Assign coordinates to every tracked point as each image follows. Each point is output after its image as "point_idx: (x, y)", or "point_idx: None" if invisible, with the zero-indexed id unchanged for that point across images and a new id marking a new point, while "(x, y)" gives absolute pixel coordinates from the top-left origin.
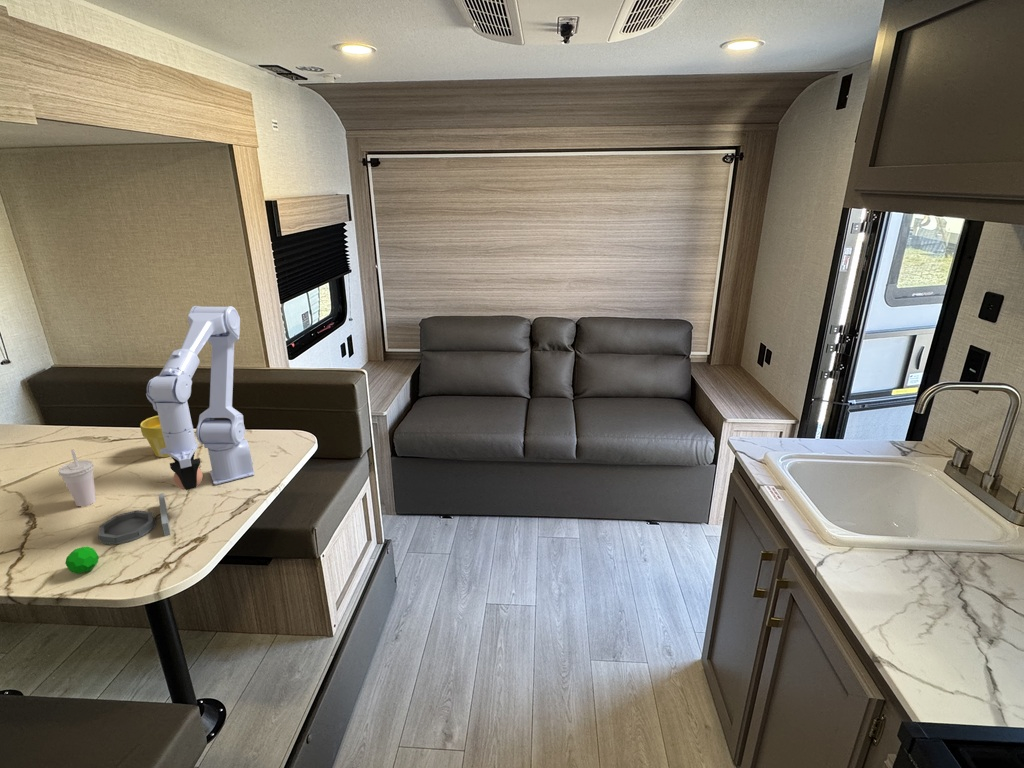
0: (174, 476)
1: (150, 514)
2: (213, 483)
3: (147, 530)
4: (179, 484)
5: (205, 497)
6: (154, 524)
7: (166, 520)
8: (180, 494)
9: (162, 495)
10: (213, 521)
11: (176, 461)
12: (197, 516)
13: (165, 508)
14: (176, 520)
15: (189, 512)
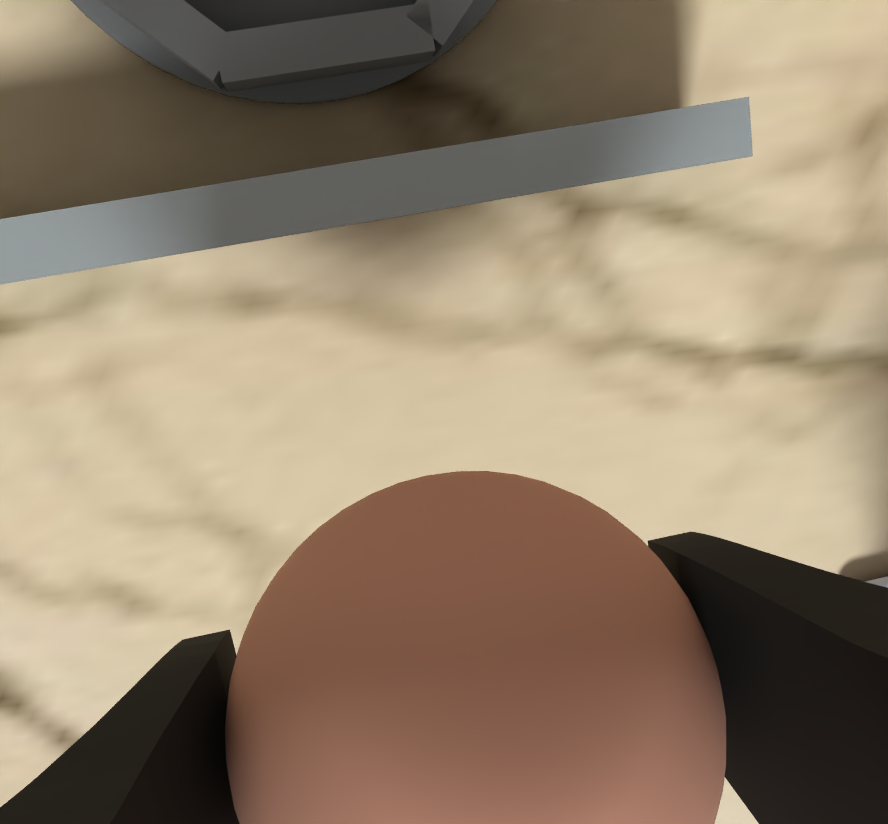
0: (413, 562)
1: (390, 36)
2: (872, 582)
3: (136, 30)
4: (269, 587)
5: (645, 529)
6: (244, 94)
7: (2, 276)
8: (826, 286)
9: (701, 150)
10: (130, 650)
11: (872, 686)
12: (289, 498)
13: (333, 227)
14: (287, 307)
15: (404, 414)
